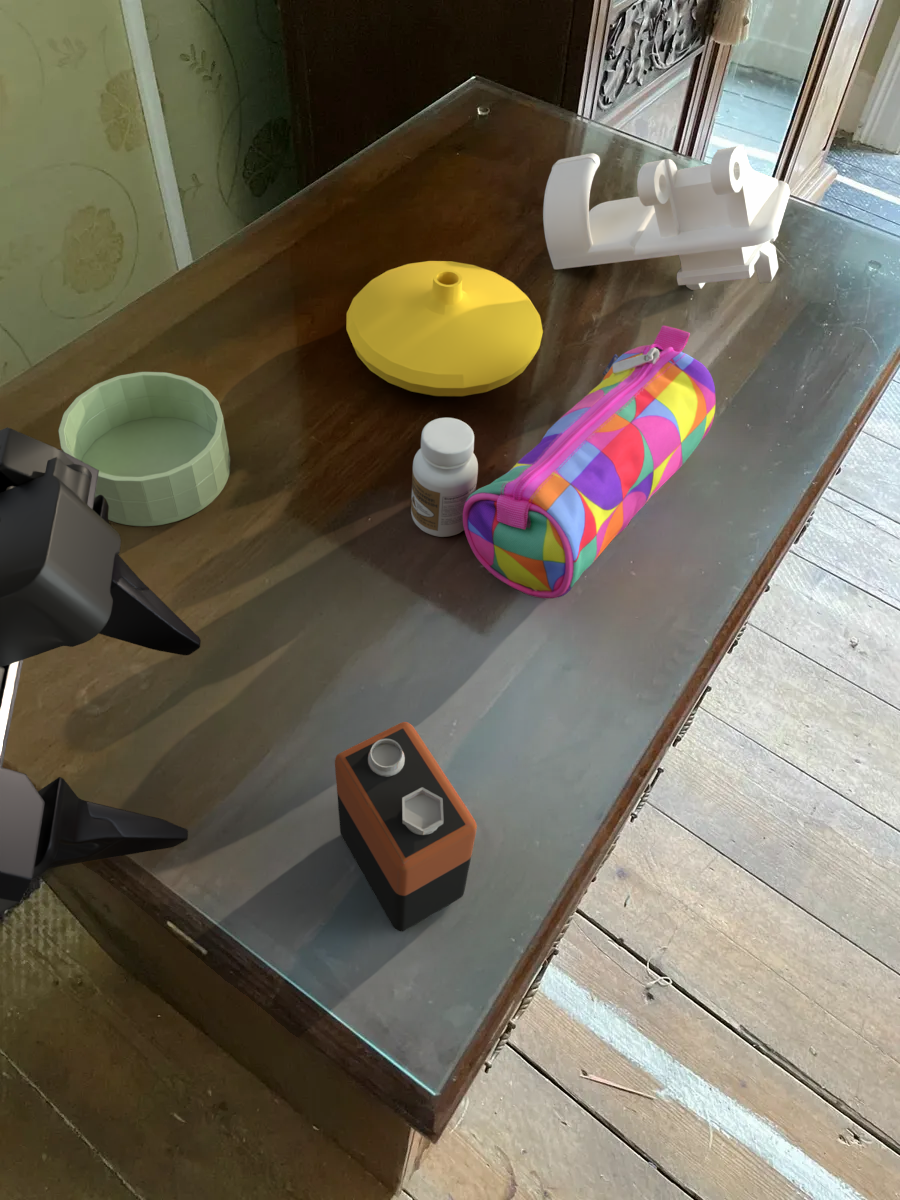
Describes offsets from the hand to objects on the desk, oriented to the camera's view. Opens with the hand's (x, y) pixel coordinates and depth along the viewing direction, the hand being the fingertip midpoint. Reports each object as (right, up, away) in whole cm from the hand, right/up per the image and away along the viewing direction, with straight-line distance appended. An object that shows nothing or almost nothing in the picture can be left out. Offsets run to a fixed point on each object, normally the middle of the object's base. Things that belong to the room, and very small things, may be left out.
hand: (189, 737), depth 41 cm
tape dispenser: (+29, +36, +47) cm, 66 cm away
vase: (+11, +26, +38) cm, 47 cm away
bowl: (-10, +15, +28) cm, 33 cm away
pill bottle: (+11, +12, +27) cm, 31 cm away
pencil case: (+21, +13, +29) cm, 38 cm away
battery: (+8, -9, +12) cm, 17 cm away
